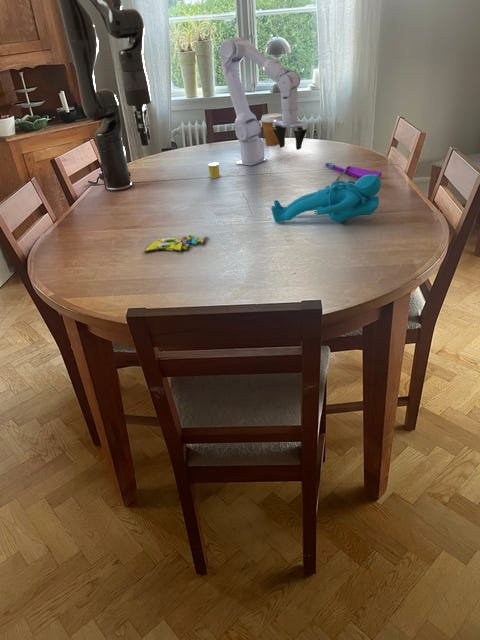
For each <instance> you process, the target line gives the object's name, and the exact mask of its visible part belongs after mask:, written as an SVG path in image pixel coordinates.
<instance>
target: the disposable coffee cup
mask: <svg viewBox="0 0 480 640" xmlns="http://www.w3.org/2000/svg"><path fill="white" fill-rule="evenodd" d="M260 120H261V123H262V128H263V135H264V141H265V145H268V146H275V145H279V142H278V139H277V136H276V134H275V133H274V131H273V129H275V127H273V121H282V113H278V112H275V113H273V112H272V113H266V114H263V115H261V118H260Z"/></svg>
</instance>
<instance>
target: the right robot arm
mask: <svg viewBox="0 0 480 640" xmlns="http://www.w3.org/2000/svg"><path fill="white" fill-rule="evenodd" d="M218 52H219V56H220V59H221V61H220V62H221V63H220V65H221V72H222V74H223V77H224V80H225V84H226V86H227V90H228V93H229V96H230V100H231V103H232V106H233V109H234V112H235V115H236V118H235V120H234V127H235V131H234V134H235V137H236V138H237V140H238V142H239V147H240V159H241V160H239V161H236V164H239V165H244V166H251V167H253V166H254V165H257V164H261V163H262V162H265V161H266V160H267V158H265V143H264V141H263V139H262V138H261V137H260V134H261V132H262V125H261V123H260V121H258V119H257V116H256V114H254V113H253V112H252V111H251V109H250V107H249V103H248V99H247V96H246V93H245V90H244V87H243V82H242V80H241V77H240V74H239V70H238V68H239V66H240V63H241V62H242V61H243V59H244V58H246V59H248V60H250V61H251V62H253V63H254V64H256V65H257V66H259V67H260V68H262V69H263V74H264V75H265V76H266V77H268V78H269V79H271V80H272V82H275V83H276V85H277V87H278V89H279V90H280V91H279V92H280V97H281V99H280V100H281V101H280V102H281V115H282V121H273V127H275V129H273V131H274V133H275V134H276V136H277V139H278V142H279V144H278V145H279V148H280V149H282V148H284V147H285V146H286V131H287V129H295V130H293V134H294V138H295V148H296V150H297V151H298V150H301V149H302V145H303V141H304V138H305V135H306V134H307V132H308V129H309V122H303V121H299V120H298V119H299V118H298V117H299V116H298V114H299V112H298V111H299V109H298V108H299V107H298V87H299V86H300V84H301V76H300V74H299V73H298V72H297V71H296V70H290V68H289V67H286V66H284V65H283V64H282V63H280V60H279V59H278V58H270V59H269V58H268V57H267V56H265V55H264V54H263V53H262V52H261V51H260V50H259V49H258V48H256V47H255V46H254V45H253V44H252V43H251V41H250V40H248V39H246V38H245V37H244V36H239V37H233V38H225V39H223V40H222V42H221V44H220V46H219V49H218Z"/></svg>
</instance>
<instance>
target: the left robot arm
mask: <svg viewBox="0 0 480 640" xmlns="http://www.w3.org/2000/svg"><path fill="white" fill-rule="evenodd" d="M89 1H90V3H91V4H92V5H93V6H94V7H95V9H96V10H97V12H99V14H100V16H101V19H102V20H103V23H104V26H105V28H106V31H107V32H108V35H110V36H111V37H112V38H114V39H117V40H123V39H128V42H127V45H126V46H125V47H123V48H121V49H120V50H119V51H118V61H119V65H120V70H121V78H122V79H121V81H122V86H123V90H124V95H125V96H124V97H125V100H126V101H125V102H126V104H127V106H129V107H134V108H135V110H134V111H133V117H134V119H135V125H136V132H137V133H138V134H139V139H140V143H141V144H140V145H141V147H147V146H149V145H150V144H149V143H150V142H149V141H150V140H151V132H150V117H149V110H148V108H147V105H149V104H150V103H152V97H151V91H150V85H149V79H148V75H147V71H146V67H145V60H144V55H143V54H144V35H145V24H144V19H143V17H142V15H141V13H140V11H138V10H137V9H135V8H124V9H123V8H122V7H123V4H122V1H121V0H89ZM57 2H58V6H59V9H60V14H61V18H62V22H63V26H64V30H65V35H66V39H67V42H68V45H69V49H70V53H71V56H72V60H73V64H74V69H75V74H76V78H77V79H76V80H77V84H78V91H79V97H80V102H81V106H82V110H83V112H84V114H85V116H86V118H87V119H88V120H89V121H90V122H99V121H102V123H101V125H100V127H98V128H97V130H96V131H95V132H94V139H95V143H96V147H97V153H98V156H99V160H100V162H99V163H98V164H99V168H100V172H99V173H98V176H97V177H96V181H91V180H87V183H89V184H92V185H97V184H98V183H99V180H101V181H102V182H103V185H104V189H106V190H107V191H111V192H120V191H124V190H127V189H130V188H132V187H133V184H132V179H131V172H130V170H129V169H130V168H129V165H128V160H127V155H126V149H125V144H124V141H123V134H122V133H123V132H122V131H123V126H122V119H121V112H120V106H119V101H118V99H117V97H116V96H117V95H116V94H115V93H114V91H112V90H111V89H109V88H101V89H96V83H95V75H94V73H95V66H96V62H97V58H98V53H99V38H98V35H97V31H96V25H95V22H94V19H93V17H92V15H91V14H90V12H89V11H88V10H87V8H86V7H85V5H84V4H83V3H82V2H81V0H57Z"/></svg>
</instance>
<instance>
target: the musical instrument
mask: <svg viewBox="0 0 480 640" xmlns="http://www.w3.org/2000/svg"><path fill="white" fill-rule="evenodd" d="M324 165H325V167H328V168H330V169H333V170H336V171H339V172H341V173H340V175H338V177H336V179H335V181H339V180H340V178H341V177H342V176H343V175H344V174H348V175H350V176H353V177H355V178H358V179H360V178H361V177H363V176H365V175H377V176H379V178H381V176H382V172H381V171H378V170H373V169H367V168H362V167H357V166H351V165H348V166H346V167H340V166H338V165H336V164H333V163H332V162H325V164H324ZM336 184H341V183H336ZM351 184H352V185H355V184H353V183H351Z"/></svg>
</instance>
